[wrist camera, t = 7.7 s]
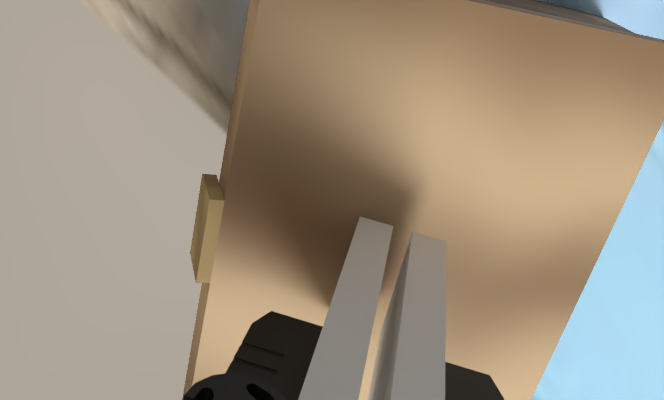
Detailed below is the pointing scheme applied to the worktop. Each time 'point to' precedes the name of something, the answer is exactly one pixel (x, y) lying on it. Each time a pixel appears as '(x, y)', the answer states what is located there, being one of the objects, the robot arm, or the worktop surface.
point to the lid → (423, 169)
